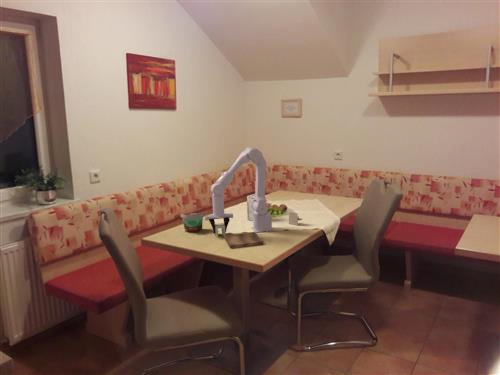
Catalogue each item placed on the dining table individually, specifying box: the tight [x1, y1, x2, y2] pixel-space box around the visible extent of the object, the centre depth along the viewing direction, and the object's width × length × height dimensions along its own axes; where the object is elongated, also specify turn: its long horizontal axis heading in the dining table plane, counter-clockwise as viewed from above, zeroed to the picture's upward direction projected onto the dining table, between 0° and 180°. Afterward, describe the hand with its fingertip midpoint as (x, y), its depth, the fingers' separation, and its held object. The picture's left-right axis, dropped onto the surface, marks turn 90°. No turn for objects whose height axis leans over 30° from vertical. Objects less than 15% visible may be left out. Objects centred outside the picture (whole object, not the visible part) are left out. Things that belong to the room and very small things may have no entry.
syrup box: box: [246, 193, 255, 222], centre depth 239 cm, size 6×6×14 cm
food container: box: [180, 211, 205, 234], centre depth 222 cm, size 12×6×10 cm, turn 105°
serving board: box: [223, 231, 264, 249], centre depth 204 cm, size 16×16×2 cm
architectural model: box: [288, 211, 303, 227], centre depth 228 cm, size 3×7×7 cm, turn 50°
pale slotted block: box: [214, 222, 227, 238], centre depth 215 cm, size 5×5×6 cm
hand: (219, 232), depth 215 cm, fingers closed on pale slotted block, 5 cm apart
